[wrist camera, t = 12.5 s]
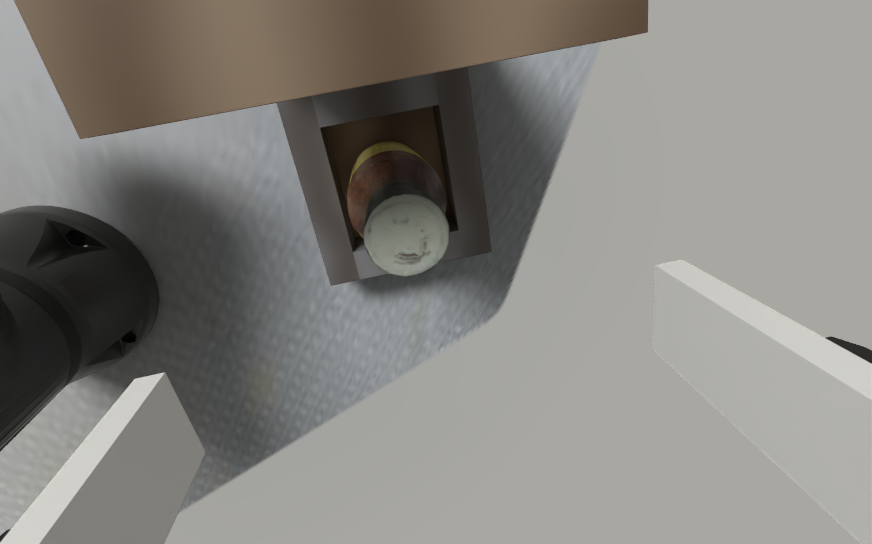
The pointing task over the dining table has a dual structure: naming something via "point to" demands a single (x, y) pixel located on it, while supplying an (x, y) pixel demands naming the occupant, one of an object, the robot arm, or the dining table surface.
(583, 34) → the stand
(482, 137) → the dining table surface
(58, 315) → the robot arm
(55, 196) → the dining table surface
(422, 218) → the sauce bottle
